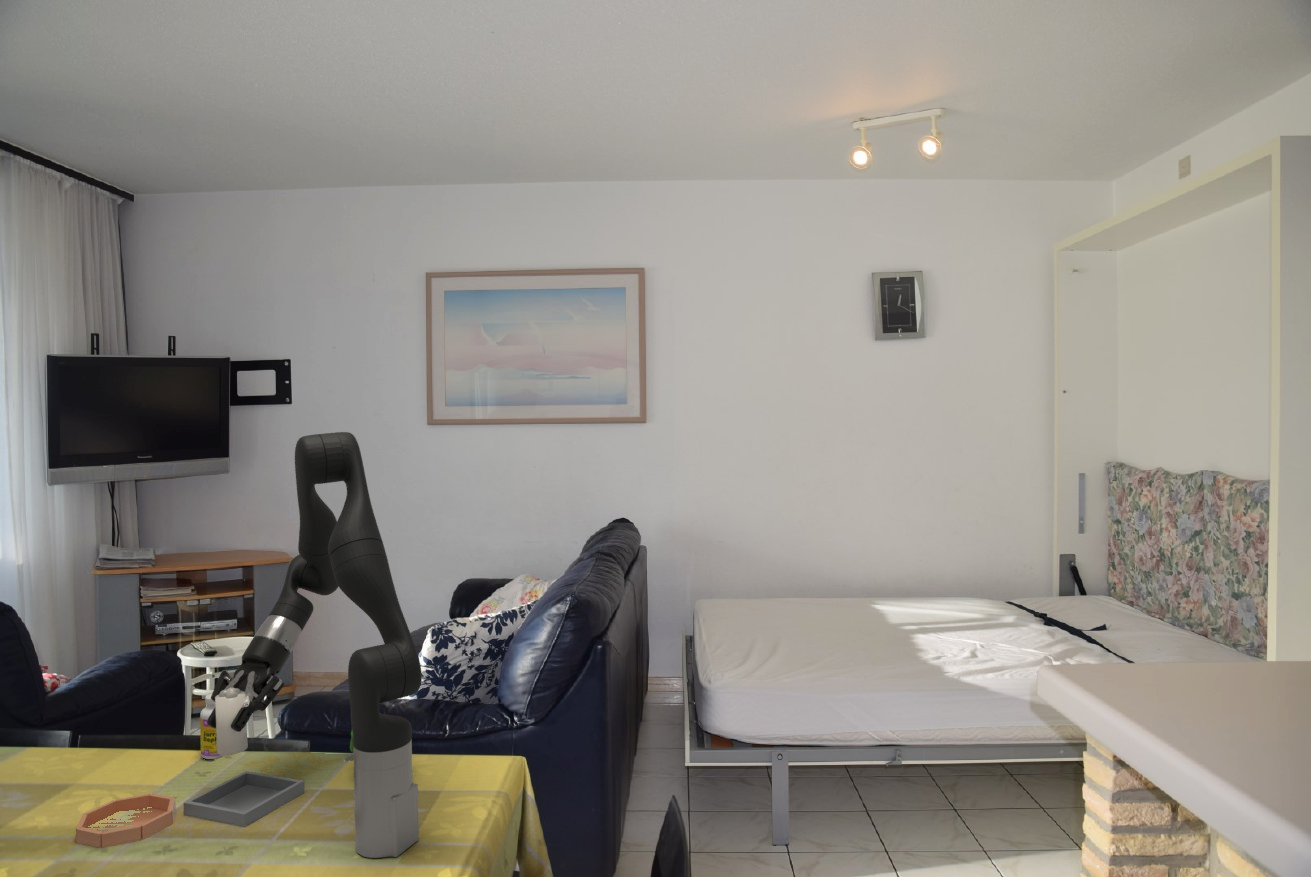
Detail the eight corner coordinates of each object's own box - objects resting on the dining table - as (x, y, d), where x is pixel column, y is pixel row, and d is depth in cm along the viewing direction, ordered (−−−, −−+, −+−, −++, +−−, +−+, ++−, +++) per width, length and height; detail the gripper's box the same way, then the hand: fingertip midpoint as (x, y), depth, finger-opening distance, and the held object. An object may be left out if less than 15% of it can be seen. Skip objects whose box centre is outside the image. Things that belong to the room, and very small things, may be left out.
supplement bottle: (197, 763, 173) (195, 701, 172) (205, 751, 179) (203, 691, 179) (232, 759, 174) (231, 698, 174) (239, 747, 181) (238, 688, 181)
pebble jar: (253, 746, 153) (251, 684, 153) (231, 756, 149) (229, 693, 148) (233, 743, 155) (231, 682, 155) (210, 753, 150) (208, 690, 150)
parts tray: (304, 796, 157) (304, 780, 156) (244, 831, 143) (244, 814, 143) (246, 786, 161) (246, 771, 161) (183, 819, 148) (183, 802, 148)
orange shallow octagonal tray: (193, 817, 149) (192, 801, 149) (119, 856, 136) (118, 838, 135) (135, 806, 153) (135, 790, 153) (59, 842, 140) (58, 825, 140)
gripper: (232, 632, 161) (180, 714, 150) (291, 636, 156) (241, 722, 145) (255, 652, 166) (205, 733, 155) (312, 657, 161) (266, 741, 150)
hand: (223, 727), depth 150 cm, fingers closed on pebble jar, 5 cm apart
